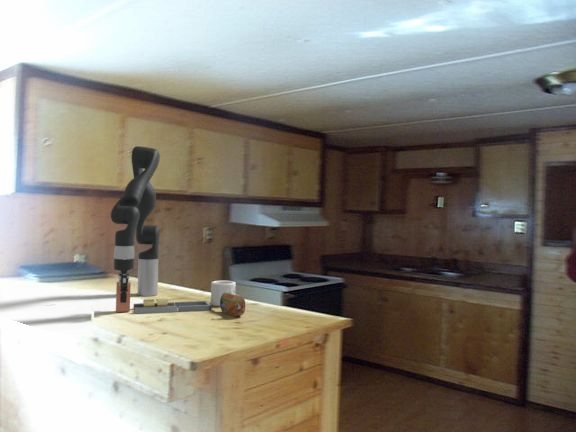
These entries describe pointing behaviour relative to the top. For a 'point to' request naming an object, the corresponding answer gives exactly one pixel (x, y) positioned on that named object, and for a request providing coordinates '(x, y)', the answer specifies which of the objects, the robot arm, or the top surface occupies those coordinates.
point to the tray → (193, 306)
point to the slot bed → (154, 308)
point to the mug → (221, 290)
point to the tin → (232, 304)
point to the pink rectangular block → (119, 306)
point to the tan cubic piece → (149, 303)
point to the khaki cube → (161, 302)
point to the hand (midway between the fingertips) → (123, 301)
